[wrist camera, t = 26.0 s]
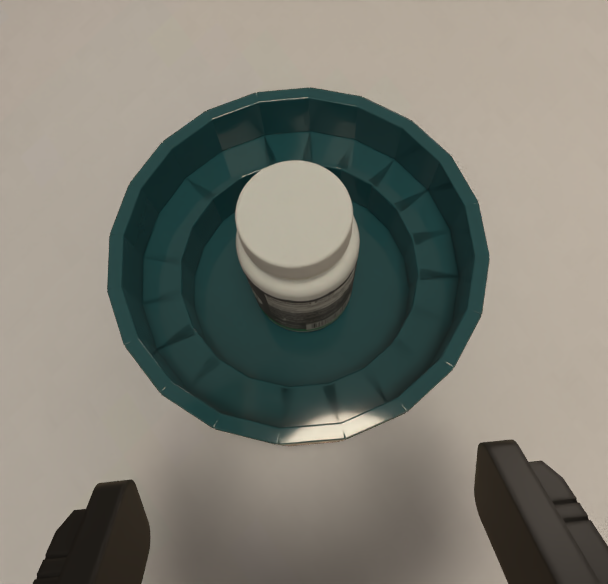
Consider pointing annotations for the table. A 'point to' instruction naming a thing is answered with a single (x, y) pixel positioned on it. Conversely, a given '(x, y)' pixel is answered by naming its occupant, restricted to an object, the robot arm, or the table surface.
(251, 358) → the bowl
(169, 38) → the table surface
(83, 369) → the table surface
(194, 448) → the table surface
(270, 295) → the pill bottle
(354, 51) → the table surface
